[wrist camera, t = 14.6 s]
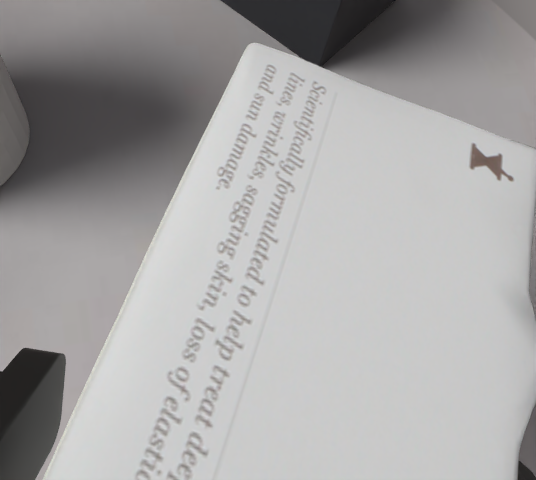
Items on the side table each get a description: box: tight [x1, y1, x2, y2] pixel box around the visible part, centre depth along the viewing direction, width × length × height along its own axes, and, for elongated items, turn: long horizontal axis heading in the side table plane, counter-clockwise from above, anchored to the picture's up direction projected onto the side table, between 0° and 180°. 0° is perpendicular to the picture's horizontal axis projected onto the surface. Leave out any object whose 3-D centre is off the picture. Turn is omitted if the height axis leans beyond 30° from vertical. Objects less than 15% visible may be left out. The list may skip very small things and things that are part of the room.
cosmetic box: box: [43, 43, 536, 480], centre depth 13 cm, size 8×6×15 cm
